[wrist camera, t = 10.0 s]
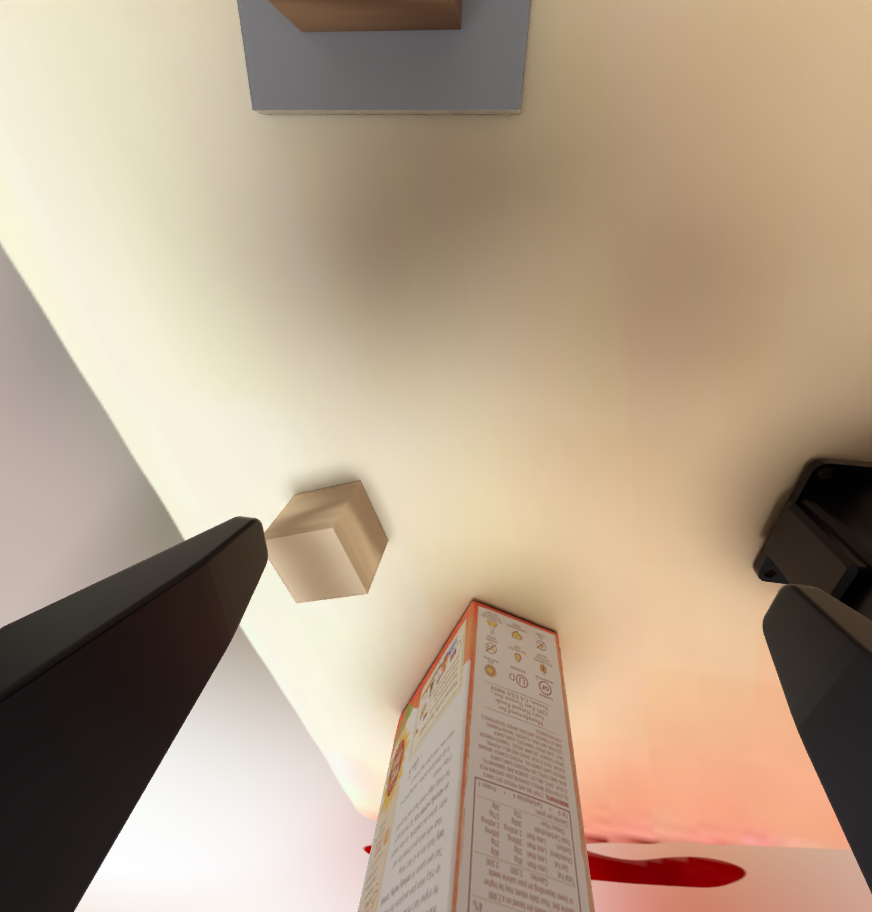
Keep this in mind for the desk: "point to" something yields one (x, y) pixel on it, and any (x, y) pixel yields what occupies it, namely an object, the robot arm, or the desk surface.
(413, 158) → the desk surface
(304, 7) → the walnut cube
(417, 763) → the cracker box
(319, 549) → the oak block
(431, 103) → the slate coaster
